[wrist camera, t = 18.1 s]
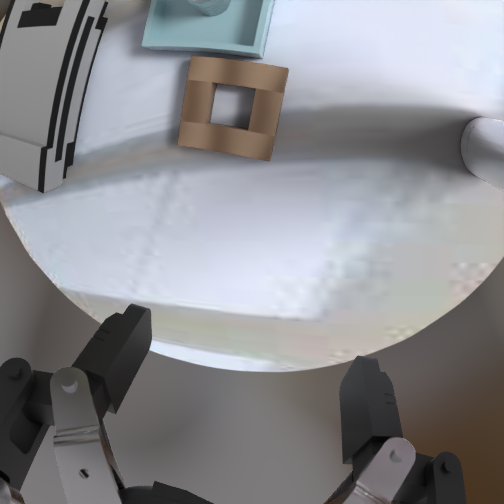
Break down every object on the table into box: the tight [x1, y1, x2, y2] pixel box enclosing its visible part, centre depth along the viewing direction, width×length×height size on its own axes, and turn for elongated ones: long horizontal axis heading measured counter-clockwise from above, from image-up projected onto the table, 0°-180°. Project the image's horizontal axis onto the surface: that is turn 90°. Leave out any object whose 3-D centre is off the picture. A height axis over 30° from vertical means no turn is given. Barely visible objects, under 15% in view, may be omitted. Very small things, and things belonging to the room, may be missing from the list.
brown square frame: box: [178, 56, 289, 161], centre depth 35 cm, size 12×12×2 cm
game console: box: [0, 0, 108, 193], centre depth 32 cm, size 21×32×8 cm, turn 160°
